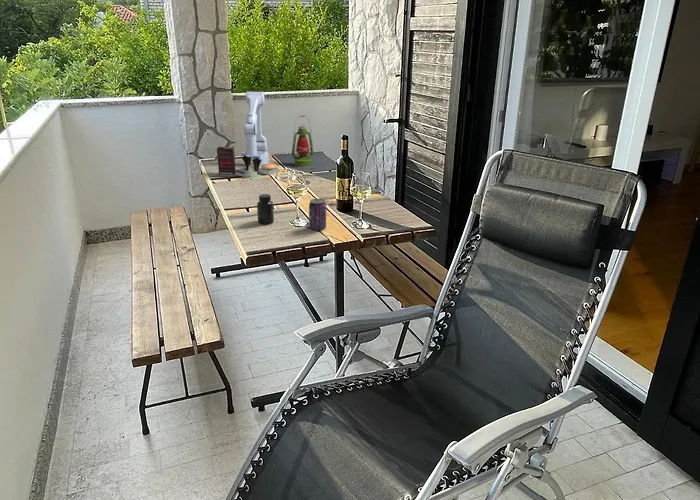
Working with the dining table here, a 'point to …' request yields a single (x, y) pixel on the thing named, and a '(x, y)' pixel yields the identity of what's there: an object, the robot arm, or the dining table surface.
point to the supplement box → (226, 161)
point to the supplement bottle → (265, 210)
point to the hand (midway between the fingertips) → (252, 170)
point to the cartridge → (252, 171)
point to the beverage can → (317, 214)
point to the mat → (253, 177)
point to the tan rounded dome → (268, 166)
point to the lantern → (302, 146)
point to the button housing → (268, 171)
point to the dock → (243, 171)
